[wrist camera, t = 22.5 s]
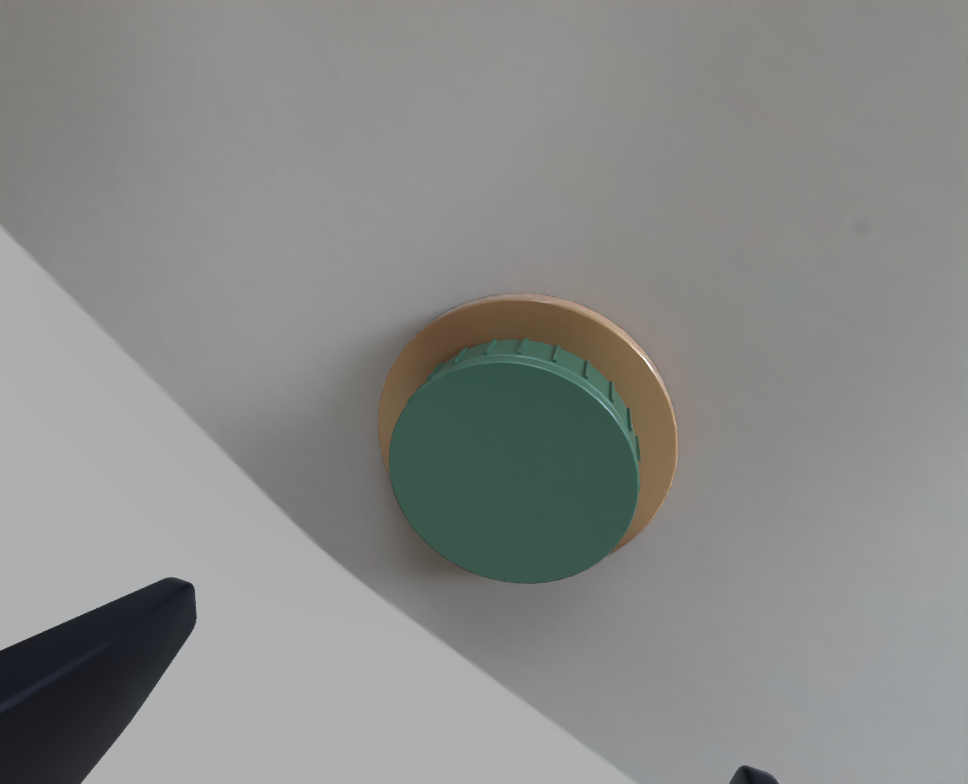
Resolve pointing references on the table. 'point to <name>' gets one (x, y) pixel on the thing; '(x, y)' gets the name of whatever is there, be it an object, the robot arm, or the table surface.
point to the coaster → (576, 335)
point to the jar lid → (517, 462)
